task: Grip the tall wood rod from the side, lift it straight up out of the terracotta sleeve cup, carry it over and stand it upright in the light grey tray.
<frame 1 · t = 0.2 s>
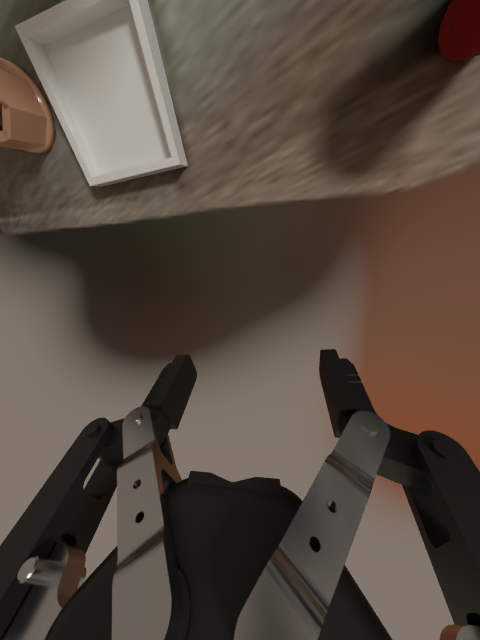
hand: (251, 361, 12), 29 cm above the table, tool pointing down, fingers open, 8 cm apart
grey tray: (120, 109, 29), on the table
plastic cup: (468, 24, 21), on the table
sleeve cup: (22, 111, 30), on the table
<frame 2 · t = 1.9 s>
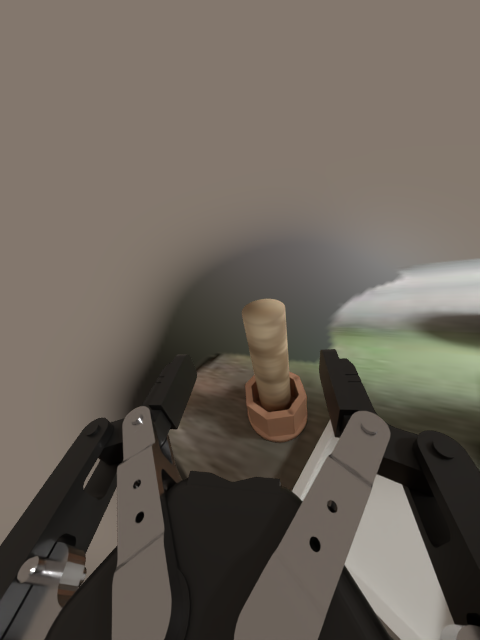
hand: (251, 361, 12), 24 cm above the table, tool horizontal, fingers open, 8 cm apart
grey tray: (380, 510, 23), on the table
wood rod: (276, 408, 34), point 1 cm above the table, touching sleeve cup
sleeve cup: (277, 411, 34), on the table
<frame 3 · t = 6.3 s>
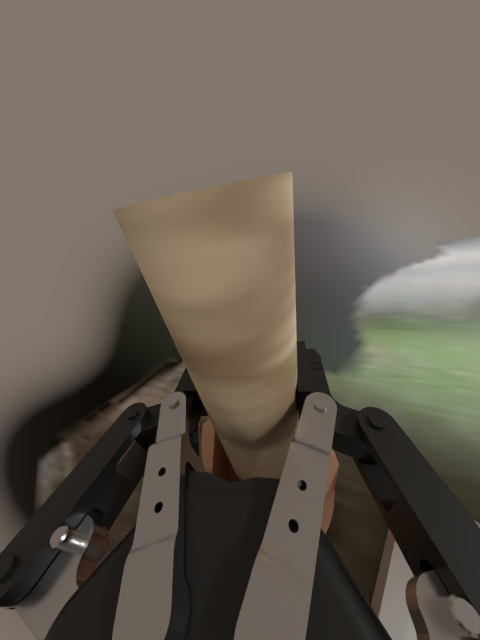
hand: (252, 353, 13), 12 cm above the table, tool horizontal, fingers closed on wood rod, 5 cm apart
wood rod: (268, 470, 17), point 1 cm above the table, touching gripper, sleeve cup
sleeve cup: (270, 475, 17), on the table
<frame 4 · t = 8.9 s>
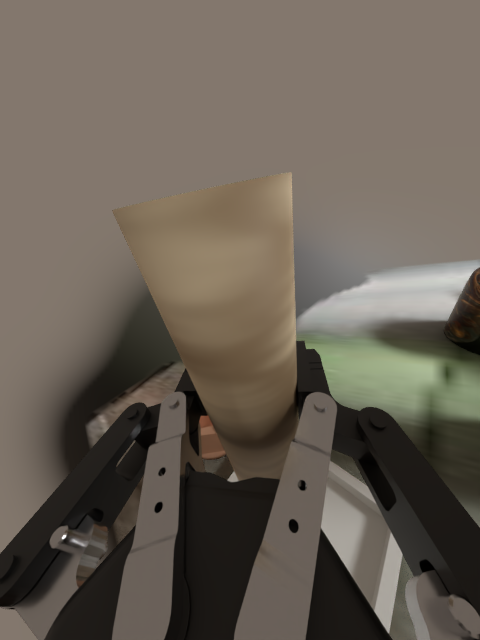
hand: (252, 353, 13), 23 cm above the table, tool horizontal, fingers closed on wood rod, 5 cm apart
grey tray: (293, 536, 21), on the table
wood rod: (268, 470, 17), point 12 cm above the table, touching gripper
sleeve cup: (215, 425, 33), on the table
when the fingers open (13 cm above the table, at t = 11.5 s): wood rod stays where it is, resting on grey tray.
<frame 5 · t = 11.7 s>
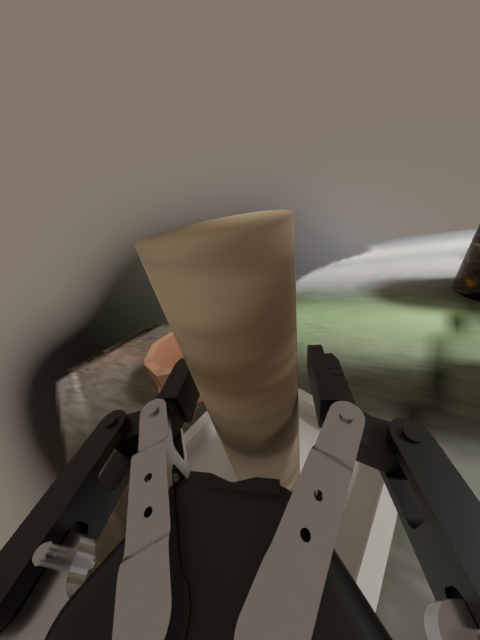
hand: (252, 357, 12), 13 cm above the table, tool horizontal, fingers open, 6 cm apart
grey tray: (270, 480, 18), on the table
wood rod: (269, 477, 17), point 1 cm above the table, touching grey tray
sleeve cup: (194, 377, 30), on the table
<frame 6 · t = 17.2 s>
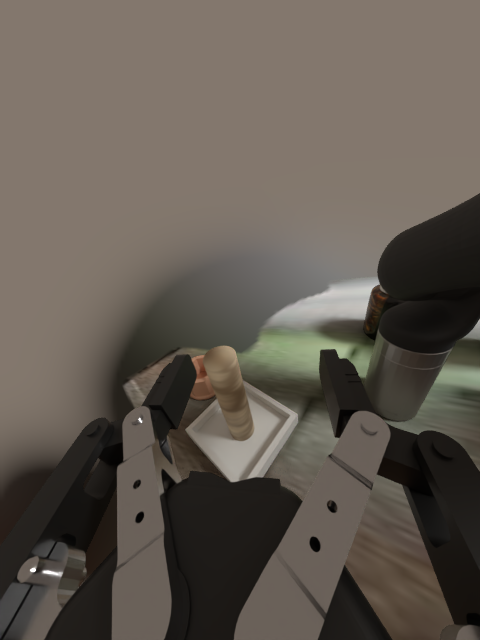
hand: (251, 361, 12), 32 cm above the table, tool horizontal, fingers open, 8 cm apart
jar: (387, 332, 57), on the table
grey tray: (242, 430, 41), on the table
wood rod: (242, 428, 40), point 1 cm above the table, touching grey tray
sleeve cup: (206, 383, 53), on the table
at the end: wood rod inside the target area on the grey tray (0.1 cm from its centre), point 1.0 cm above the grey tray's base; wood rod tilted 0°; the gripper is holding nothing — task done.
